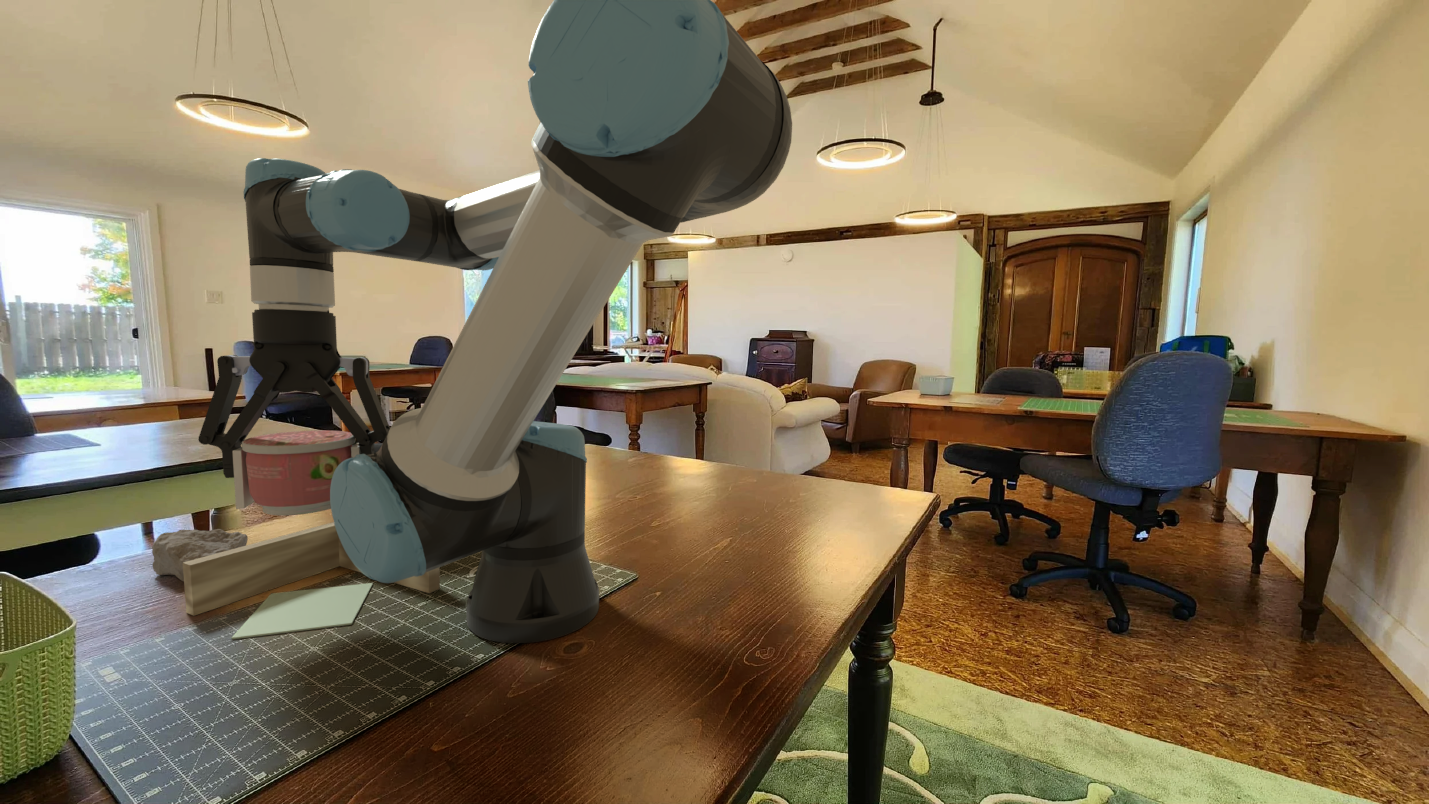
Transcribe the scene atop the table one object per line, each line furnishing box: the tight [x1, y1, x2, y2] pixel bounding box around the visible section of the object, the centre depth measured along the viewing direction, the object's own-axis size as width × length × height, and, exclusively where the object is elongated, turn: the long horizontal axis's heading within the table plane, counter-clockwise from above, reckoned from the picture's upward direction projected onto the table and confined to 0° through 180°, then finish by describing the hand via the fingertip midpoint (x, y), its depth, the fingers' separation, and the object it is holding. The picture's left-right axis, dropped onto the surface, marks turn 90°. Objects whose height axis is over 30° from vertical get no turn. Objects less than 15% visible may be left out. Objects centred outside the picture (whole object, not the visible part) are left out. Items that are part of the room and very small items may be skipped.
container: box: [241, 429, 356, 516], centre depth 65 cm, size 10×10×8 cm
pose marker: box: [230, 582, 374, 640], centre depth 67 cm, size 11×11×1 cm
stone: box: [151, 528, 248, 582], centre depth 75 cm, size 8×10×6 cm
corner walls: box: [183, 521, 441, 617], centre depth 69 cm, size 20×18×6 cm
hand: (304, 501), depth 66 cm, fingers closed on container, 10 cm apart
